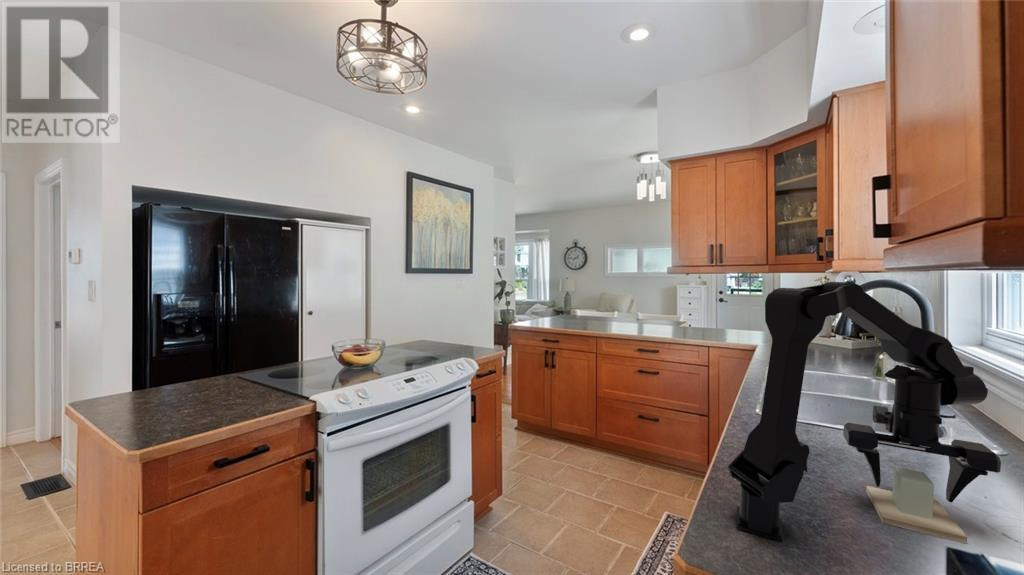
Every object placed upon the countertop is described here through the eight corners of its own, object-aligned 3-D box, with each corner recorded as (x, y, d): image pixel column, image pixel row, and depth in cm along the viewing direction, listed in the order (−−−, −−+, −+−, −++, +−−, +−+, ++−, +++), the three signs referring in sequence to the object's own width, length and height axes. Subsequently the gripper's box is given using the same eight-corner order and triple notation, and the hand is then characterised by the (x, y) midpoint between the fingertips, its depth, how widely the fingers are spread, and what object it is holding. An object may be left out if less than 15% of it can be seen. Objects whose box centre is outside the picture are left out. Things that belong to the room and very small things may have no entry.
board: (967, 543, 64) (967, 537, 64) (882, 522, 69) (882, 517, 69) (937, 506, 74) (938, 501, 74) (865, 490, 79) (866, 485, 79)
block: (932, 519, 68) (934, 484, 68) (900, 512, 70) (901, 478, 70) (922, 505, 72) (923, 472, 72) (892, 498, 74) (893, 466, 74)
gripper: (972, 402, 73) (967, 487, 73) (839, 386, 82) (836, 461, 83) (1005, 421, 63) (999, 519, 64) (851, 400, 73) (847, 486, 73)
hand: (911, 493), depth 71 cm, fingers open, 9 cm apart
